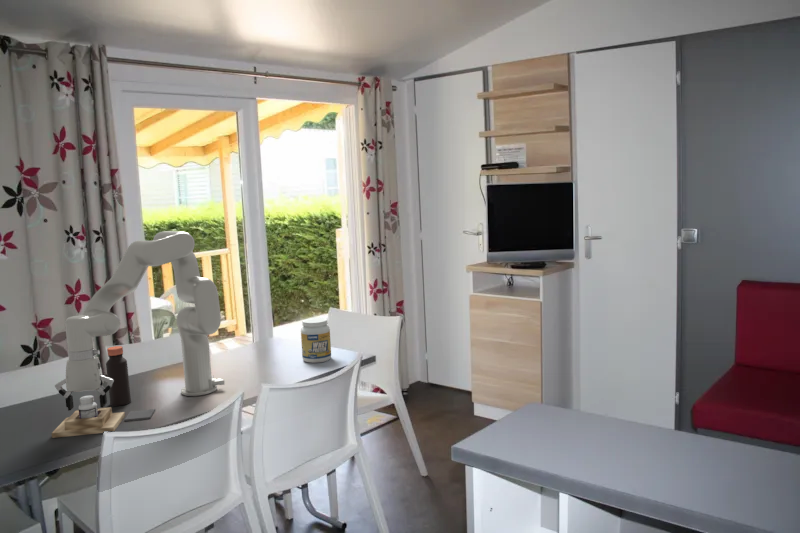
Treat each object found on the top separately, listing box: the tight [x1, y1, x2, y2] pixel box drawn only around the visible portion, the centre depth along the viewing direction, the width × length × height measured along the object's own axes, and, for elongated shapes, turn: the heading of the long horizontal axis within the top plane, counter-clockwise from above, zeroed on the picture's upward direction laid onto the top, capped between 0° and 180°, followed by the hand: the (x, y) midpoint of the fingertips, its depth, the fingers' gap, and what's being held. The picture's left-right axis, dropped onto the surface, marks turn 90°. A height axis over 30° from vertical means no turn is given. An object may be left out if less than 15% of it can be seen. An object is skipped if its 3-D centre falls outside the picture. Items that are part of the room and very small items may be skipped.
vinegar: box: [105, 345, 132, 407], centre depth 232 cm, size 7×7×20 cm
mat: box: [123, 408, 156, 422], centre depth 219 cm, size 8×8×1 cm
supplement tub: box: [300, 317, 332, 364], centre depth 278 cm, size 12×12×17 cm
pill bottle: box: [77, 395, 98, 419], centre depth 210 cm, size 5×5×10 cm
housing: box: [51, 406, 126, 439], centre depth 211 cm, size 18×14×4 cm
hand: (87, 407), depth 210 cm, fingers open, 9 cm apart
